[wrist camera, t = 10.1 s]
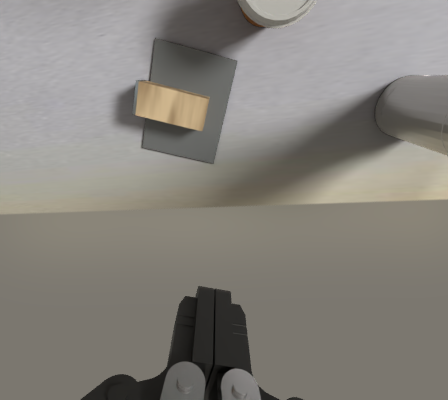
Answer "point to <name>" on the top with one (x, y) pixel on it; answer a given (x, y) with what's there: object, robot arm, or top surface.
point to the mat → (196, 83)
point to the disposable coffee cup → (275, 11)
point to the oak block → (170, 105)
